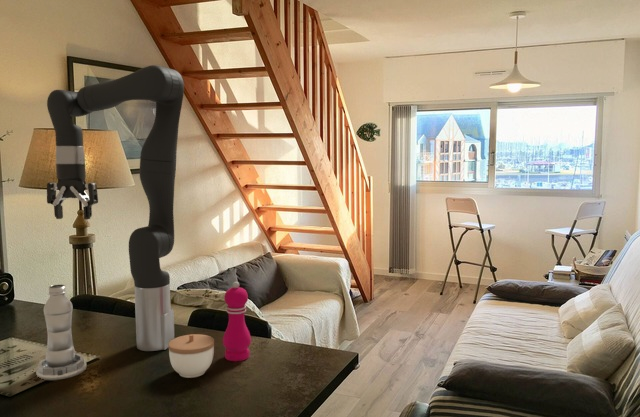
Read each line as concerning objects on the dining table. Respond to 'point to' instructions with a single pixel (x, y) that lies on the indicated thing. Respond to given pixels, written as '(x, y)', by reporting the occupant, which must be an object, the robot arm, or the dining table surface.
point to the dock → (61, 369)
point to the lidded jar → (191, 354)
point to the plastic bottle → (59, 328)
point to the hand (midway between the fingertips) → (73, 219)
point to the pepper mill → (236, 325)
